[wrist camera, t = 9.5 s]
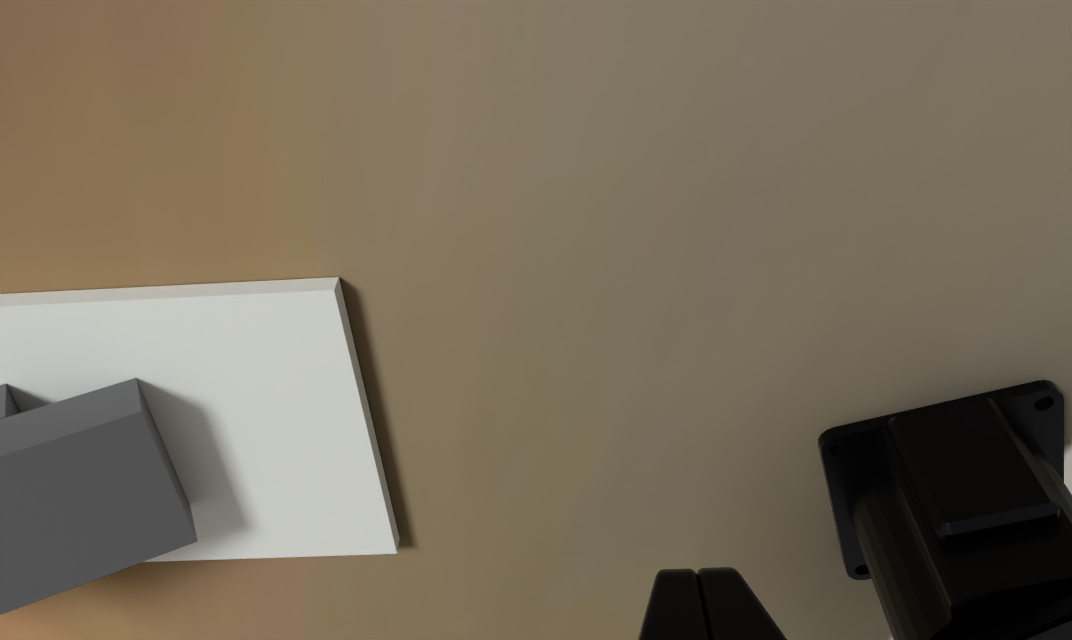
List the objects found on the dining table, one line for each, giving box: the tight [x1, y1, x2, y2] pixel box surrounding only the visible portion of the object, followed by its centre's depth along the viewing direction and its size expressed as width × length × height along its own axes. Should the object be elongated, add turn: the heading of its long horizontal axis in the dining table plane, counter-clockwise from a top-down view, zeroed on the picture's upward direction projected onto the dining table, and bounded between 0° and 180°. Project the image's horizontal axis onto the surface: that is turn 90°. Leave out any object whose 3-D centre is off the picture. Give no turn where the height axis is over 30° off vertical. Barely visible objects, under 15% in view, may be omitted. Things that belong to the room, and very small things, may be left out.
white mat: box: [0, 277, 400, 562], centre depth 26 cm, size 20×10×1 cm, turn 94°
